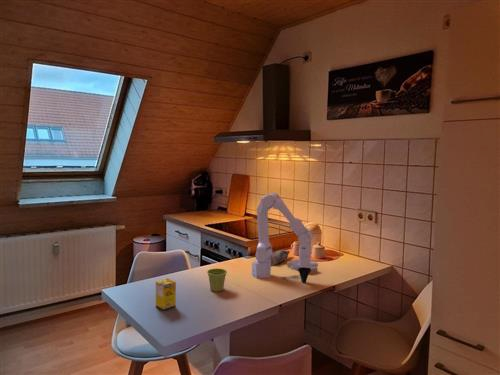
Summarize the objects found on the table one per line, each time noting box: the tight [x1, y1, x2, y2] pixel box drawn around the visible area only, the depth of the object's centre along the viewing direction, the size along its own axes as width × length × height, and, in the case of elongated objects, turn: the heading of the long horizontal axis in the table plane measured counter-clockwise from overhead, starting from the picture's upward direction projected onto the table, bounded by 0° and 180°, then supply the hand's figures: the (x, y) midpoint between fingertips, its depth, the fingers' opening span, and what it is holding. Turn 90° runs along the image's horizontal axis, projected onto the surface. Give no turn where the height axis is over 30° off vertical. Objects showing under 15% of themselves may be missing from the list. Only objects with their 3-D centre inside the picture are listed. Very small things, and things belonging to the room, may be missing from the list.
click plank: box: [285, 278, 301, 282], centre depth 189 cm, size 12×7×1 cm, turn 113°
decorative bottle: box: [271, 249, 290, 267], centre depth 225 cm, size 26×8×7 cm, turn 148°
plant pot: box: [206, 268, 228, 292], centre depth 177 cm, size 9×9×9 cm
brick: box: [286, 259, 318, 275], centre depth 208 cm, size 17×8×5 cm, turn 36°
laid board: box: [280, 274, 301, 281], centre depth 194 cm, size 13×4×1 cm, turn 113°
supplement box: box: [155, 278, 177, 312], centre depth 156 cm, size 6×6×11 cm
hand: (303, 282), depth 187 cm, fingers closed
